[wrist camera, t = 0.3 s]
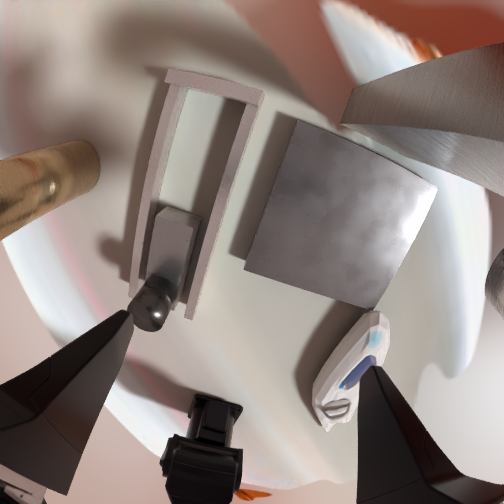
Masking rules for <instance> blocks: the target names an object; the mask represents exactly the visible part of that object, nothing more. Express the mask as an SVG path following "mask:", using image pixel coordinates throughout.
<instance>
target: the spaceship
mask: <svg viewBox="0 0 504 504" xmlns="http://www.w3.org/2000/svg"><path fill="white" fill-rule="evenodd" d="M389 344H390V330H389V320H388V319H387V318H386V317H385V316H384V315H383V314H382V313H381V312H380V311H369V312H366V313H364V314H363V315H362V316H361V318H360V319H359V320H358V321H357V322H356V323H355V325H354V326H353V327H352V328H351V329H350V331H349V332H348V333H347V334H346V335H345V337H344V338H343V339H342V340H341V342H340V343H339V344H338V346H337V347H336V348H335V350H334V351H333V352H332V354H331V355H330V357H329V358H328V360H327V361H326V363H325V364H324V365H323V367H322V369H321V371H320V373H319V374H318V376H317V378H316V380H315V382H314V383H313V389H312V406H313V408H314V411H315V413H316V415H317V417H318V419H319V421H320V423H321V425H322V426H323V428H324V430H325V432H329V430H330V429H331V427H332V426H333V425H334V424H335V423H347V422H348V421H350V419H351V417H352V415H353V412H354V410H355V408H356V407H357V405H358V399H359V382H360V378H361V376H362V375H363V374H364V373H365V371H366V370H367V369H368V368H369V367H370V366H371V365H377V366H382V364H383V362H384V359H385V356H386V353H387V350H388V348H389Z"/></svg>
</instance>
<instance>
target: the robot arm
mask: <svg viewBox="0 0 504 504" xmlns="http://www.w3.org/2000/svg"><path fill="white" fill-rule="evenodd" d="M133 331H134V324H133V315H132V313H131V312H129V311H126V310H120V311H118V312H116V313H115V314H113V315H112V316H110V317H109V318H107V319H106V320H104V321H103V322H101V323H100V324H98V325H97V326H95V327H93V328H92V329H90V330H89V331H87V332H86V333H84V334H83V335H81V336H80V337H78V338H77V339H75V340H74V341H72V342H71V343H69V344H68V345H66V346H65V347H63V348H62V349H60V350H59V351H57V352H56V353H55V354H53V355H52V356H51V357H48V358H47V359H45V360H44V361H42V362H41V363H39V364H38V365H37V366H35V367H33V368H31V369H29V370H28V371H26V372H24V373H22V374H20V375H19V376H17V377H15V378H13V379H11V380H9V381H7V382H5V383H3V384H1V385H0V504H47V503H46V501H45V499H44V495H45V492H46V489H47V488H48V489H51V490H53V491H56V492H58V493H60V494H63V495H67V494H68V491H69V488H70V485H71V483H72V480H73V477H74V474H75V471H76V469H77V467H78V464H79V461H80V459H81V456H82V454H83V451H84V449H85V446H86V444H87V441H88V439H89V436H90V434H91V432H92V429H93V427H94V425H95V422H96V420H97V418H98V416H99V413H100V411H101V409H102V407H103V404H104V402H105V400H106V398H107V396H108V393H109V391H110V389H111V387H112V385H113V383H114V381H115V378H116V376H117V374H118V372H119V370H120V368H121V365H122V362H123V360H124V357H125V354H126V351H127V348H128V345H129V342H130V340H131V337H132V334H133ZM242 411H243V407H241V406H238V405H234V404H230V403H226V402H222V401H219V400H215V399H212V398H208V397H205V396H202V395H198V394H196V395H195V396H194V399H193V402H192V404H191V407H190V410H189V413H188V418H190V423H189V427H188V431H187V434H186V437H182V436H179V435H177V434H174V436H173V437H172V438H169V439H168V442H167V446H166V448H165V451H164V453H163V455H162V457H161V460H160V465H161V467H162V471H163V477H167V481H166V485H165V487H166V491H167V494H168V497H169V499H170V502H171V504H230V502H231V501H232V498H233V493H234V492H238V490H239V487H240V483H241V478H242V462H243V449H236V448H230V445H231V439H232V432H233V425H234V424H235V422H236V421H237V419H238V418H239V416H240V414H241V413H242ZM503 501H504V484H503V485H500V484H494V483H490V482H486V481H483V480H479V479H476V478H472V477H469V476H466V475H464V474H462V473H461V472H460V471H459V470H458V469H456V467H455V466H454V465H453V463H452V462H451V461H450V460H449V459H448V458H447V456H446V455H445V454H444V453H443V451H442V450H441V449H440V448H439V446H438V445H437V444H436V442H435V441H434V440H433V438H432V437H431V435H430V434H429V433H428V431H426V428H425V427H424V425H423V424H422V422H421V421H420V420H419V418H418V417H417V415H416V414H415V412H414V411H413V410H412V408H411V407H410V405H409V404H408V403H407V401H406V400H405V398H404V397H403V396H402V394H401V393H400V391H399V390H398V389H397V387H396V386H395V385H394V383H393V382H392V380H391V379H390V378H389V376H388V375H387V374H386V372H385V371H384V370H383V368H382V367H381V366H377V365H371V366H370V367H369V368H368V369H367V370H366V371H365V373H364V374H363V375H362V376H361V378H360V382H359V399H358V479H357V500H356V503H357V504H503Z"/></svg>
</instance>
